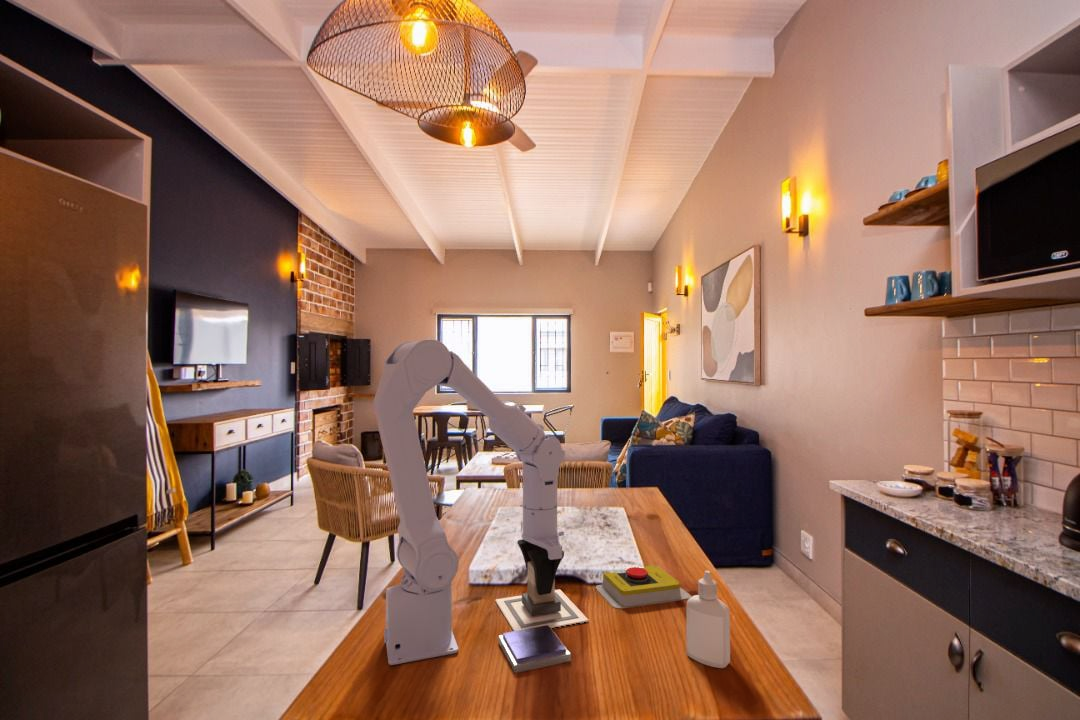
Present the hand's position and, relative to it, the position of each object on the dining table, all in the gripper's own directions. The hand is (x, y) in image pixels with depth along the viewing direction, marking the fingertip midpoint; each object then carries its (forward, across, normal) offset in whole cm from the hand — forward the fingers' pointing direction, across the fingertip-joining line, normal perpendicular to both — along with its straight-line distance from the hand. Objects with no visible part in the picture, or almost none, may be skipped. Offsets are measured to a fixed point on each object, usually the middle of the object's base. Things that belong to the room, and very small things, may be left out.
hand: (540, 588), depth 84 cm
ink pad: (+4, -11, +5) cm, 13 cm away
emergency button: (+4, 0, -20) cm, 20 cm away
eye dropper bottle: (+4, -21, -17) cm, 27 cm away
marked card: (+4, 0, 0) cm, 4 cm away
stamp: (+3, 0, 0) cm, 3 cm away
